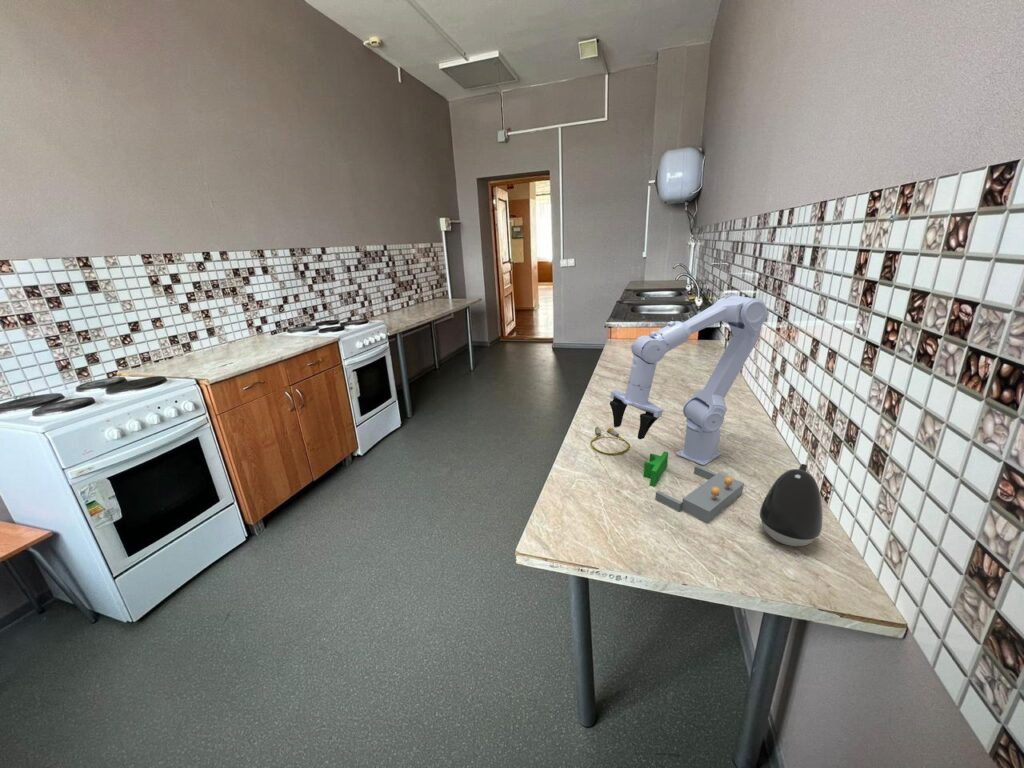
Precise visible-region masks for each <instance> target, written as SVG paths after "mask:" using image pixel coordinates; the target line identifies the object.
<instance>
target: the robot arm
mask: <svg viewBox="0 0 1024 768" xmlns="http://www.w3.org/2000/svg"><path fill="white" fill-rule="evenodd" d="M768 316H769V311H768V309H767V305H766V302H765V301H763V300H762V299H760V298H751V297H748V296H742V295H738V294H734V293H731V294H728V295H726V296H724V297H723V298H720V299H719V298H718V299H717V301H715V303H713V304H712V305H711V306H708V307H707V308H706V309H704V310H702V311H700V312H699V313H697V314H696V315H693V316H692V317H691V318H689V319H687V320H685V321H684V322H682V321H679V320H675V321H672V320H671V321H669V322H667V325H666V326H664V327H662V328H660V329H658V330H656V331H655V330H653V331H651V332H650V335H641V336H639V337H638V338H636V339H635V341H634V342H633V344H631V345H630V347H631V348H630V350H631V353H632V355H633V357H632V358H633V359H632V363H631V369H630V373H629V377H628V382H627V385H626V391H625V392H623V391H622V392H621V391H619V390H616V389H615V390H611V391H610V396H609V398H610V399H611V400H610V401H609V406H610V408H611V411H612V416H613V428H615V429H617V428H619V427H621V426H622V422H623V418H624V415H625V411H626V408H627V407H628V406H631V407H632V408H636V409H638V410H640V411H642V412H644V413H641V414H639V427H638V428H639V429H638V431H637V432H638V433H637V439H638V440H642V439H645V437H646V435H647V434H648V431H649V430H650V428H651V427H652V426H653V424H655V422H657V420H658V419H659V418H661V417H662V415H663V411H664V409H662V408H661V407H659V406H657V405H655V404H653V403H652V402H650V401H649V399H650V394H651V389H652V385H653V381H654V377H655V372H656V368H657V364H658V363H660V361H662V360H663V358H664V357H665V355H666V354H667V353H668V352H670V351H672V350H673V349H676V348H677V347H679V346H682V345H683V344H685V343H688V342H689V340H690V336H691V335H693V334H695V333H697V332H699V331H701V330H704V329H706V328H708V327H710V326H712V325H714V324H718V323H719V322H726V324H727V325H728V326H729V328H730V331H731V333H732V336H731V339H730V341H729V342H728V344H727V346H726V347H725V350H723V353H722V355H721V357H720V359H719V360H718V363H717V364H716V366H715V367H714V369H713V371H712V373H711V375H710V376H709V378H708V380H707V382H706V384H705V386H704V387H703V389H700V390H698V391H696V392H694V393H693V395H692V397H690V399H688V400H687V401H686V402H685V403H684V405H683V407H682V413H683V415H684V418H686V420H685V422H686V427H685V435H684V443H683V444H684V445H683V449H681V450H679V451H677V452H676V456H679V457H681V458H683V459H686V460H689V461H691V462H692V463H693V462H694V463H696V464H697V465H698V464H699V465H701V466H705V465H707V464H709V463H710V462H711V461H713V460H714V459H717V457H718V456H721V454H722V453H721V451H718V450H719V444H720V438H721V430H720V428H721V427H722V426H723V424H724V421H725V414H726V413H727V411H728V407H727V405H726V401H725V398H726V396H727V395H728V392H729V391H730V389H731V388H732V386H733V384H734V383H735V380H736V378H737V377H738V375H739V373H740V372H741V370H742V368H743V367H744V366H745V364H746V361H747V359H748V358H749V356H750V354H751V353H752V351H753V350H754V348H755V346H756V344H757V342H758V341H759V339H760V336H761V332H762V329H763V325H764V324H765V323H764V322H765V321H766V320H767V317H768Z"/></svg>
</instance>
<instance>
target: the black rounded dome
mask: <svg viewBox="0 0 1024 768" xmlns="http://www.w3.org/2000/svg"><path fill="white" fill-rule="evenodd" d="M807 470H808V465H807V464H805V463H801V464H800V466H799V468H798V469H797V468H791V469H788V470H786V471H784V472H783V473H782V474H781V475H779V476H778V477H777V479H776V480H774V483H773V484H772V485H771V487H770V488H769V490H768V491H767V494H766V495H765V497H764V499H763V501H762V504H761V507H760V509H759V518H760V521H761V524H762V527H763V529H764V531H765V532H766V533H767V534H768V535H769V537H771V538H772V539H773V540H775V541H776V542H779V543H781V544H783V545H785V546H789V547H790V546H791V547H804V546H807V545H809V544H811V543H812V542H813V541H815V540H816V538H818V537H820V535H821V533H822V530H823V529H822V528H823V521H824V520H823V519H824V518H823V517H824V516H823V515H824V514H823V502H822V495H821V491H820V487H819V485H818V483H817V481H816V479H815V478H814V476H813V475H812V474H811V473H810V472H808V471H807Z"/></svg>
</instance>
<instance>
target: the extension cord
mask: <svg viewBox="0 0 1024 768" xmlns="http://www.w3.org/2000/svg"><path fill="white" fill-rule="evenodd" d="M594 433H595V435H596V437H594V438H593V439H592V440H591V441H590V446H591V447H593V448H592V449H593V450H594V451H595V452H597V453H599V454H602V455H607V456H614V457H615V456H621V455H624V454H626V453H627V452H629V450H630V449H631V444H630V442H628V441H627V440H626V439H624V438H623V437H622V436H621V435H620V433H619V432H618V431H616V430H614V427H608V429H607V430H606V433H607V434H609V435H611V436H613V437H611V436H601V434H602V430H601V428H600V427H599V426H596V427H595V428H594ZM605 437H606V439H613V440H614V439H615V440H618V439H619V441H622V442H624V441H625V442H624V443H626V444H627V445H628V447H627V448H626V449H624V450H622V451H620V452H613V453H612V452H606V451H601V450H599V449H597V448H596V447H595V446H594V445H593V442H594V441H595V440H599V439H602V438H605ZM595 438H596V439H595ZM629 448H630V449H629ZM625 452H626V453H625Z"/></svg>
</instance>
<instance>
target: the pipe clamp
mask: <svg viewBox="0 0 1024 768" xmlns="http://www.w3.org/2000/svg"><path fill="white" fill-rule="evenodd" d="M668 461H669V451H665V450H664V451H663V452H662V454H661V455H658V454H654V453H650V454H649V461H648V460H644V461H643V462H644V464H643V465H644V466H643V477H642V478H646V479H650V481H649V482H650V483H649V486H650V487H653V488H655V487H656V485H657V483H658V482H659V480H661V479H660V478H661V477H662V476H663V474H664V472H665V471H666V469H667V468H668Z"/></svg>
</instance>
